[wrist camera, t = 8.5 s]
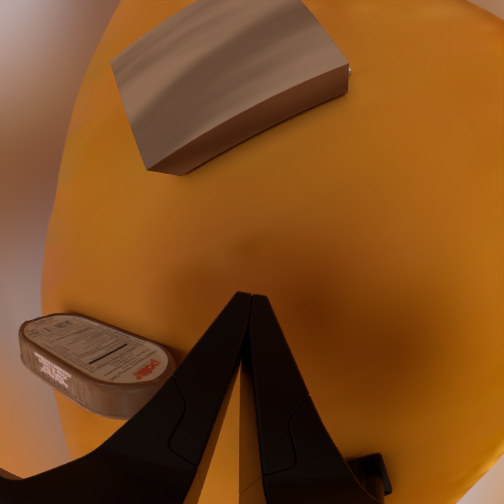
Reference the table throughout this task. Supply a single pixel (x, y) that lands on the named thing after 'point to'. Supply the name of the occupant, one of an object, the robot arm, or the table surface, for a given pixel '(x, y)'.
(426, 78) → the table surface
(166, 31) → the walnut board
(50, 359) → the tin
